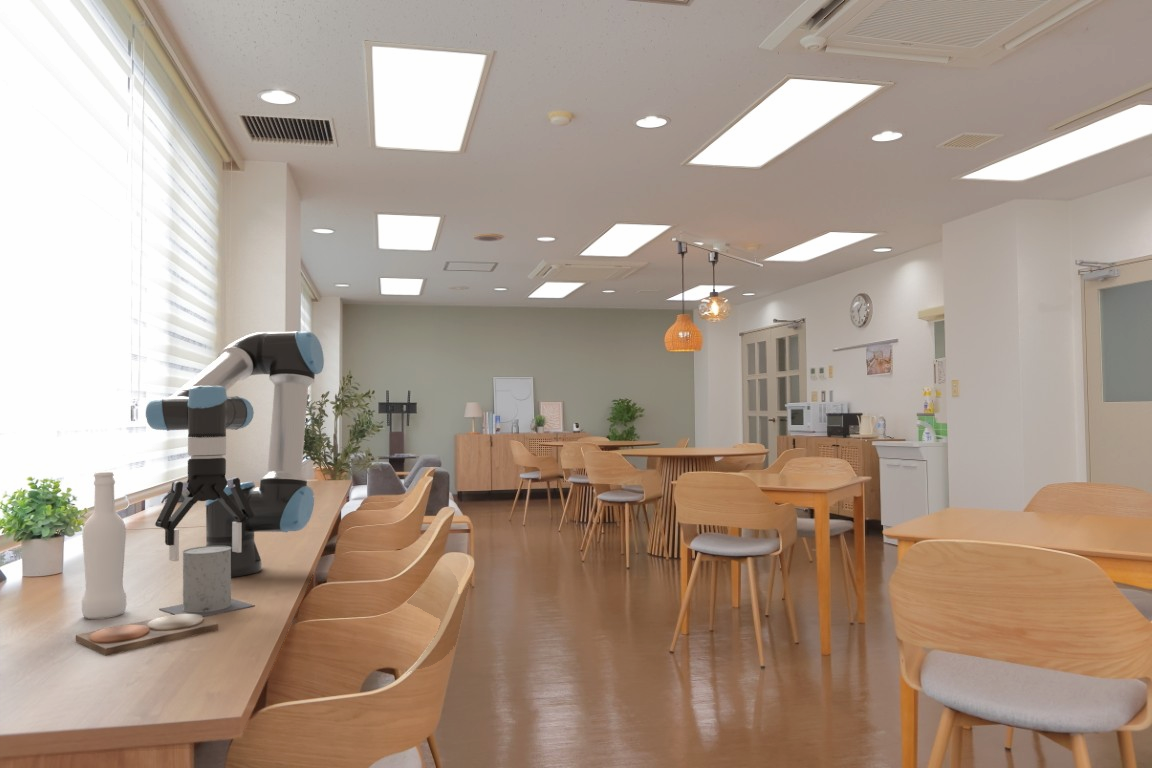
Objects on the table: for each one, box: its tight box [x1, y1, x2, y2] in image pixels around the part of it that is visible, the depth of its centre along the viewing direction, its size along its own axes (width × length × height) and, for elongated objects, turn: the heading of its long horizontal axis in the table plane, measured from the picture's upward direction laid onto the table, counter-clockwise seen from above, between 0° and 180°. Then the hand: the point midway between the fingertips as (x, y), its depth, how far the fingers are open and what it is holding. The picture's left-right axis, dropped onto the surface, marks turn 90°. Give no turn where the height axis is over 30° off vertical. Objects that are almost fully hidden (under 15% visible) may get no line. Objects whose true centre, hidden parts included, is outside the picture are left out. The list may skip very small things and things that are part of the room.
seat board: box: [75, 613, 219, 656], centre depth 152 cm, size 20×14×2 cm
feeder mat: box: [159, 598, 256, 618], centre depth 173 cm, size 14×14×1 cm
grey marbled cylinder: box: [182, 545, 232, 613], centre depth 173 cm, size 10×10×12 cm
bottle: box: [81, 470, 127, 620], centre depth 168 cm, size 8×8×30 cm
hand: (206, 556), depth 172 cm, fingers open, 13 cm apart
